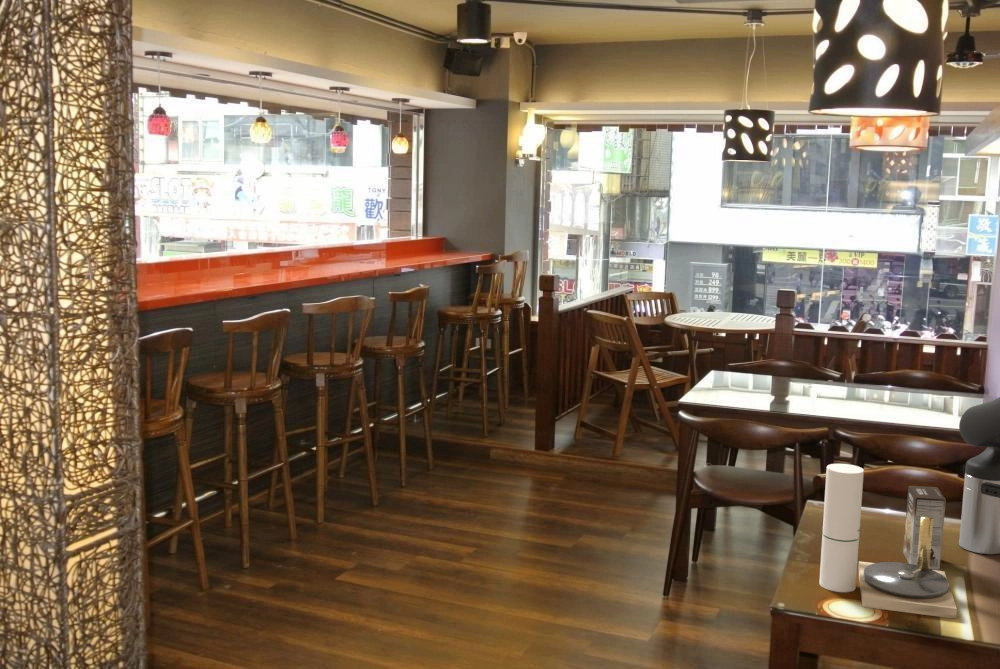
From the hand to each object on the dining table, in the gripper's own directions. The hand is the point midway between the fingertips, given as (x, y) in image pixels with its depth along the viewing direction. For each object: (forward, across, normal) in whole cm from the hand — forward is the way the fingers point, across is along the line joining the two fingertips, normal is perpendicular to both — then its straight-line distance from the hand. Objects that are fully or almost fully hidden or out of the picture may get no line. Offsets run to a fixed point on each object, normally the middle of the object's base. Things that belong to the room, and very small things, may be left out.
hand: (982, 487), depth 198 cm
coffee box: (+16, -13, +24) cm, 32 cm away
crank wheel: (+11, +7, +21) cm, 25 cm away
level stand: (+11, +7, +24) cm, 27 cm away
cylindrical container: (+22, +14, +24) cm, 35 cm away
